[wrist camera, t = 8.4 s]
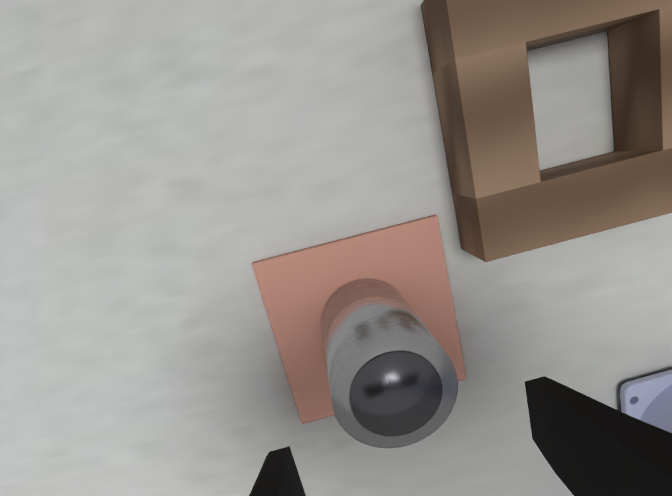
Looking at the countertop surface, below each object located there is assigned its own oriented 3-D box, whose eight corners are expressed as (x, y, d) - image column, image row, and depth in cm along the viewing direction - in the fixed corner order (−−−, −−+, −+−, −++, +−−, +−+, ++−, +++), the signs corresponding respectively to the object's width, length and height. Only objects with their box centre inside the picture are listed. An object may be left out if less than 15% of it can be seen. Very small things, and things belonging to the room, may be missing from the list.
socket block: (670, 193, 19) (724, 198, 17) (461, 248, 19) (485, 261, 16) (665, -55, 16) (728, -92, 14) (421, 4, 16) (442, -24, 14)
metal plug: (411, 353, 19) (461, 439, 13) (326, 366, 19) (339, 460, 13) (405, 272, 18) (457, 326, 12) (315, 285, 18) (324, 346, 12)
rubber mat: (464, 375, 20) (466, 378, 20) (302, 420, 20) (301, 424, 20) (435, 214, 18) (437, 215, 18) (252, 262, 18) (251, 264, 18)
